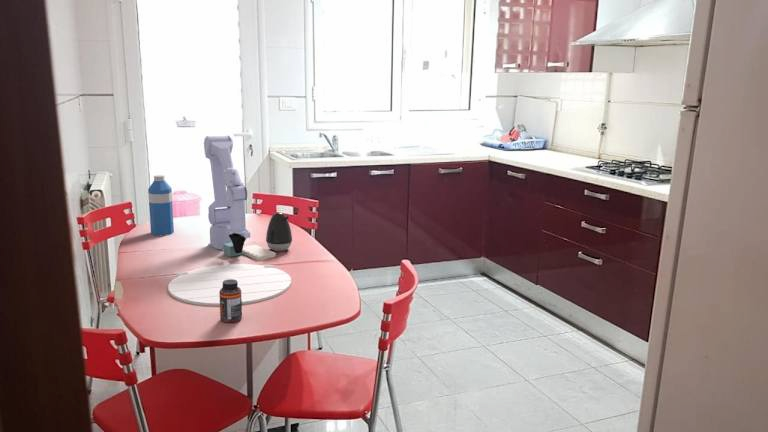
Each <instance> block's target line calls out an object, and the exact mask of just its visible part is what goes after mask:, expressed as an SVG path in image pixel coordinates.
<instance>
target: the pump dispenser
mask: <svg viewBox="0 0 768 432" xmlns="http://www.w3.org/2000/svg"><path fill="white" fill-rule="evenodd" d="M289 219H290V217H289V216H286V215H285V214H284V213H283V212H281V211H277V212H275V213H273V214H272V216H271V218H270V219H269V223H268V224H267V225H268V226H267V229H266V234H265V235H266V237H265V243H266V244H267V246H268V248H269V249H270V251H272V252H284V251H286V250H288V249H289V248H290V247H291V244H292V242H293V233H292V229H291V225H290V222H289Z"/></svg>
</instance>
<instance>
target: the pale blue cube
mask: <svg viewBox="0 0 768 432" xmlns="http://www.w3.org/2000/svg"><path fill="white" fill-rule="evenodd" d="M222 252H223V255H225V256H227V257H229V258H230V257H231V258H232V257H237V256H240V255H241V256H242V255H243V254H242V253H238V254H237V253H235V250H234V246H233V243H232V242H231V243H225V244H223V249H222Z"/></svg>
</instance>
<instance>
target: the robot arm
mask: <svg viewBox="0 0 768 432" xmlns="http://www.w3.org/2000/svg"><path fill="white" fill-rule="evenodd" d="M233 142H234V141H233V138H232V136H231V135H217V136H214V135H213V136H211V135H210V136H209V135H206V136H205V137H204V139H203V149H204V156H205V158H206V159H208V160H209V163H210V168H211V169H210V170H211V171H210V172H211V179H212V188H213V196H214V201H213V202H211V204H209V206H208V215H207V216H208V221H209V223H210V224H211V226H210V228H209V242H210V243H208V244H207V245H208V246H210V247H212V248H215V249H216V250H219V251H220V250H223V244H225V243H231V242H232V243H233V246H234V250H235V253H237V254H238V253H242V250H243V247H244V245H245V242H246V240H247V239H249V238H251V232H250V231H249V230H248V229H247V228H246V224H247V223H246V201H247V199H248V189H247V187H246V185H245V184H244V183H243V182H242V180H241V177H240V174H239V172H238V170H237V168H235V167H234V164H233V158H232V151H233V149H234V148H233V147H234V146H233V145H234V143H233Z"/></svg>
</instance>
